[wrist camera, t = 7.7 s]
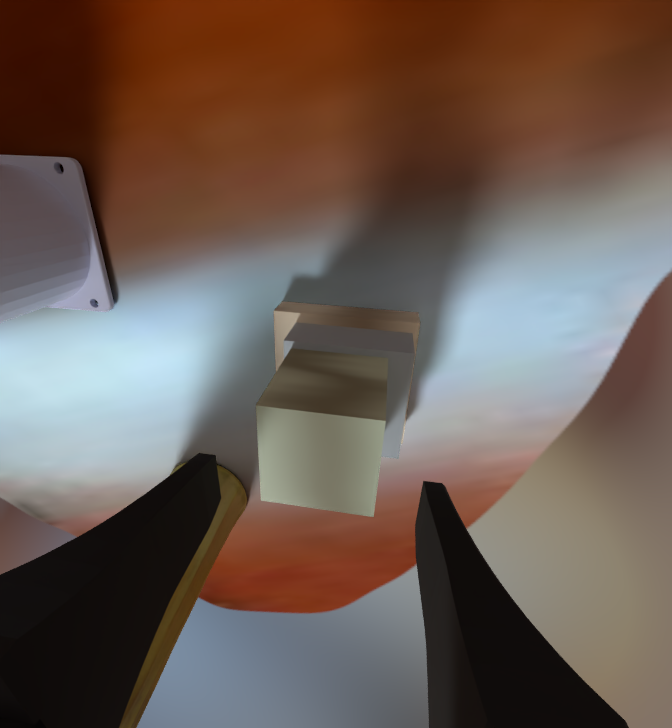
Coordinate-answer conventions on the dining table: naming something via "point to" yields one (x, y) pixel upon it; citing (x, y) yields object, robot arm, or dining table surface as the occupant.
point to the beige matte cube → (323, 431)
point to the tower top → (367, 344)
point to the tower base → (341, 323)
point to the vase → (186, 594)
